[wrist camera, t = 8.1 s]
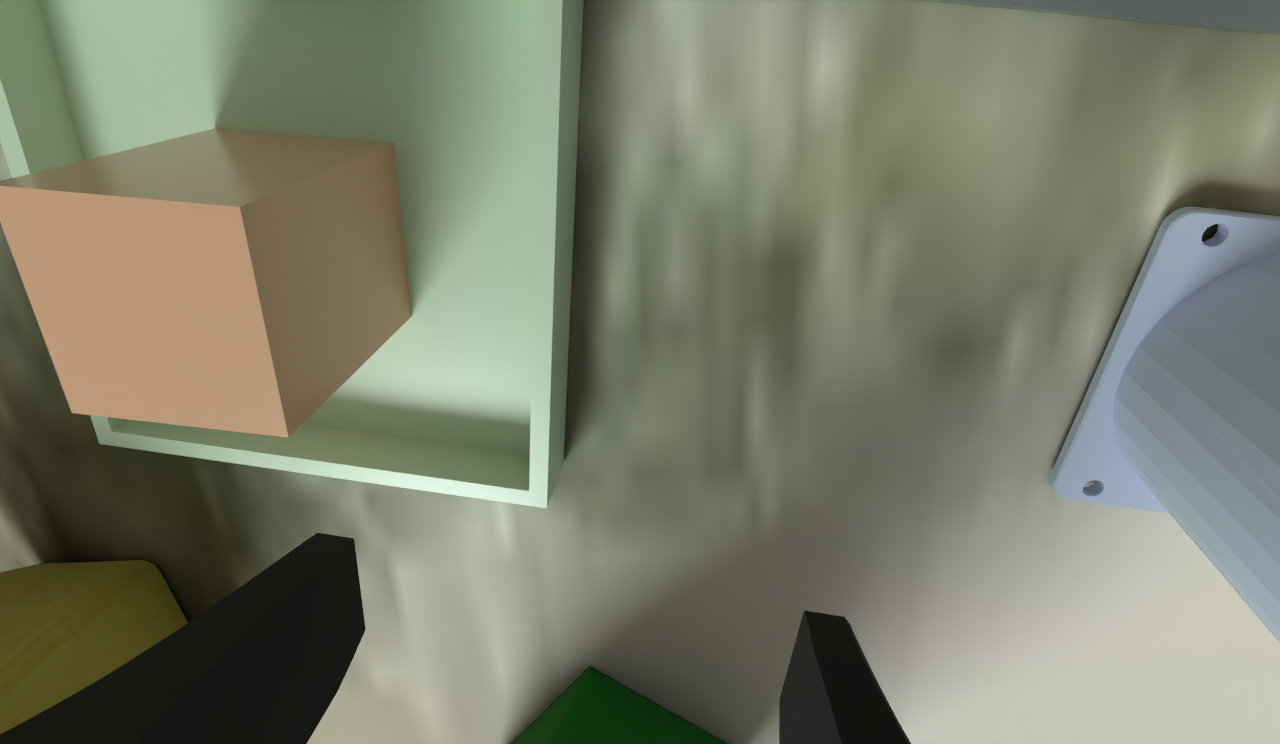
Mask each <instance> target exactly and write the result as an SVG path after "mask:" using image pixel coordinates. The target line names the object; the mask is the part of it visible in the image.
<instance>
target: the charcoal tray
mask: <svg viewBox="0 0 1280 744" xmlns="http://www.w3.org/2000/svg"><path fill="white" fill-rule="evenodd" d="M924 1H935V2H945V3H955V4H966V5H976V6H987V7H997V8H1007V9H1018V10H1028V11H1039V12H1049V13H1059V14H1070V15H1080V16H1091V17H1101V18H1111V19H1122V20H1132V21H1143V22H1153V23H1163V24H1174V25H1184V26H1195V27H1205V28H1215V29H1226V30H1236V31H1247V32H1257V33H1269V34H1280V0H924Z"/></svg>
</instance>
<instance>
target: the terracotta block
mask: <svg viewBox="0 0 1280 744" xmlns="http://www.w3.org/2000/svg"><path fill="white" fill-rule="evenodd" d="M0 222H1V225H2V228H3V230H4V233H5V236H6V239H7V241H8V244H9V247H10V249H11V252H12V255H13V257H14V260H15V263H16V265H17V268H18V271H19V273H20V276H21V279H22V281H23V284H24V287H25V289H26V292H27V295H28V297H29V300H30V303H31V305H32V308H33V311H34V313H35V316H36V319H37V321H38V324H39V327H40V329H41V332H42V335H43V337H44V340H45V343H46V345H47V348H48V351H49V353H50V356H51V359H52V361H53V364H54V367H55V369H56V372H57V375H58V377H59V380H60V383H61V385H62V388H63V391H64V393H65V396H66V399H67V401H68V404H69V407H70V409H71V412H72V413H76V414H85V415H94V416H103V417H111V418H120V419H129V420H138V421H147V422H156V423H164V424H173V425H182V426H191V427H200V428H208V429H217V430H226V431H235V432H244V433H253V434H261V435H270V436H279V437H288V438H289V437H290V436H291V435H292V434H293V433H294V432H295V431H296V430H297V429H298V428H299V427H300V426H301V425H302V424H303V423H304V422H305V421H306V420H307V419H308V418H309V417H310V416H311V415H312V414H313V413H314V412H315V411H316V410H317V409H318V408H319V407H320V406H321V405H322V404H323V403H324V402H325V401H326V400H327V399H328V398H329V397H330V396H331V395H332V394H333V393H334V392H335V391H336V390H337V389H338V388H339V387H341V386H342V385H343V384H344V383H345V382H346V381H347V380H348V379H349V378H350V377H351V376H352V375H353V374H354V373H355V372H356V371H357V370H358V369H359V368H360V367H361V366H362V365H363V364H364V363H365V362H366V361H367V360H368V359H369V358H370V357H371V356H372V355H373V354H374V353H375V352H376V351H377V350H378V349H379V348H380V347H381V346H382V345H383V344H384V343H385V342H386V341H387V340H388V339H389V338H390V337H391V336H392V335H393V334H394V333H395V332H396V331H397V330H398V329H399V328H400V327H401V326H402V325H403V324H404V323H406V322H407V321H408V320H409V319H410V318H411V317H412V312H411V303H410V293H409V284H408V274H407V265H406V255H405V245H404V236H403V226H402V217H401V207H400V198H399V188H398V179H397V169H396V160H395V150H394V142H382V141H369V140H357V139H344V138H331V137H319V136H306V135H294V134H281V133H268V132H256V131H243V130H230V129H218V128H214V129H210V130H206V131H202V132H198V133H194V134H189V135H185V136H181V137H177V138H173V139H169V140H165V141H161V142H157V143H153V144H149V145H145V146H141V147H137V148H133V149H129V150H125V151H121V152H117V153H112V154H108V155H104V156H100V157H96V158H92V159H88V160H84V161H80V162H76V163H72V164H68V165H64V166H60V167H56V168H52V169H48V170H44V171H40V172H36V173H31V174H27V175H23V176H19V177H15V178H11V179H7V180H3V181H0Z"/></svg>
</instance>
